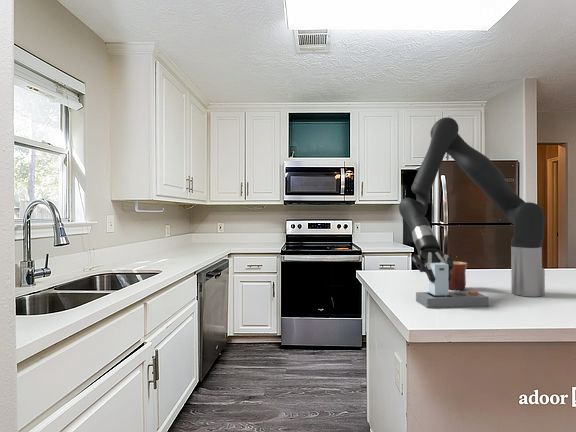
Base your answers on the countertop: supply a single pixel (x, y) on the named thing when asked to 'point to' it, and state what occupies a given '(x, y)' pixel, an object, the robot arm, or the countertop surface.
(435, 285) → the block
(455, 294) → the power strip
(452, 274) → the mug
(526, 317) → the countertop surface
